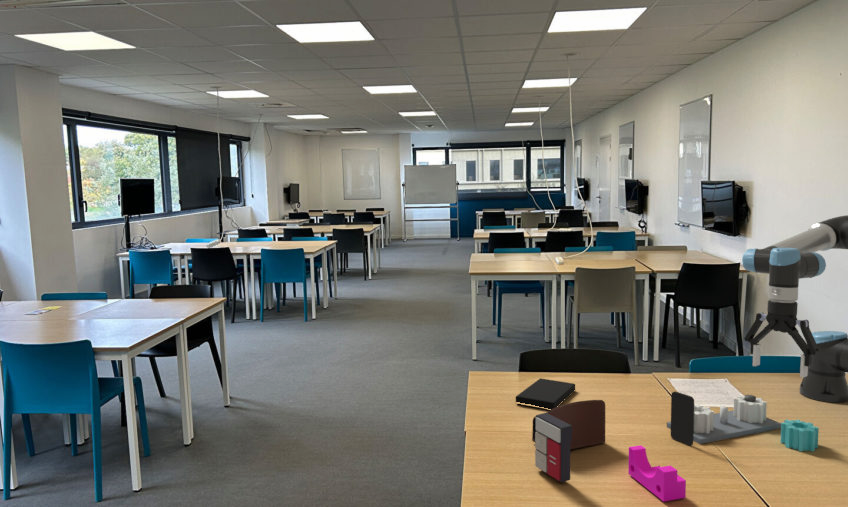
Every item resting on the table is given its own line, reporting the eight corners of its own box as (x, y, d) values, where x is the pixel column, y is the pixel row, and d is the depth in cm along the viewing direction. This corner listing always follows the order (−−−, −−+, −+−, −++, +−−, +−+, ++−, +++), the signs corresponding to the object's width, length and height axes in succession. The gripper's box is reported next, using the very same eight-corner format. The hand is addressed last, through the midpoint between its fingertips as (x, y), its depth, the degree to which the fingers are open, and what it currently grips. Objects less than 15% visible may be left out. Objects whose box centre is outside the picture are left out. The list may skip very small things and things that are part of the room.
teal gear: (796, 436, 181) (797, 417, 180) (825, 448, 172) (826, 428, 172) (773, 441, 178) (774, 421, 177) (801, 453, 169) (802, 433, 169)
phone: (670, 438, 182) (671, 390, 180) (671, 437, 182) (672, 390, 181) (691, 447, 176) (693, 397, 174) (693, 446, 176) (695, 397, 174)
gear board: (744, 412, 201) (745, 387, 200) (781, 428, 187) (782, 401, 186) (666, 426, 190) (667, 400, 190) (699, 444, 177) (700, 416, 176)
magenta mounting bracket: (685, 497, 148) (686, 468, 147) (663, 501, 146) (664, 472, 145) (648, 470, 162) (649, 444, 161) (628, 473, 161) (628, 447, 160)
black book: (515, 404, 215) (515, 396, 214) (539, 385, 234) (539, 378, 234) (553, 411, 207) (553, 402, 207) (575, 391, 226) (575, 383, 226)
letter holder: (606, 442, 180) (606, 397, 179) (549, 454, 173) (549, 408, 172) (585, 430, 190) (586, 387, 188) (531, 441, 182) (531, 397, 181)
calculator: (533, 467, 165) (533, 415, 164) (545, 463, 167) (545, 412, 166) (559, 484, 156) (559, 428, 154) (572, 480, 158) (572, 425, 156)
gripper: (734, 295, 183) (731, 363, 186) (823, 308, 162) (818, 384, 165) (747, 293, 187) (744, 359, 190) (836, 305, 166) (831, 379, 169)
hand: (779, 370), depth 177 cm, fingers open, 13 cm apart
